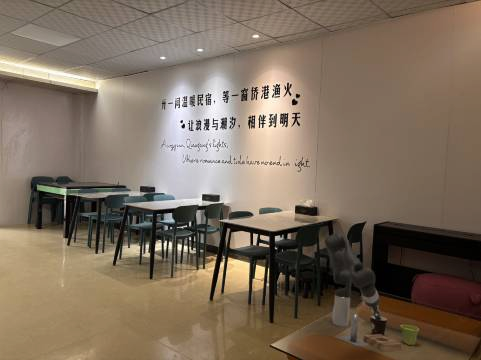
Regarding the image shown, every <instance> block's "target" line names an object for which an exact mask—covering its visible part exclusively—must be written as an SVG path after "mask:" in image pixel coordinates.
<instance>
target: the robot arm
mask: <svg viewBox="0 0 481 360" xmlns="http://www.w3.org/2000/svg"><path fill="white" fill-rule="evenodd" d="M324 245H325V247H326V250H327V253H328V255H329V262H330V265H331V268H332V275H333V281H334V283H335V284H338V285H343V286H345V287H344V288H340V289H336V290H335V291H334V302H333V303H334V304H333V307H332V314H331V316H332V317H331V318H332V319H331V323H332V324H333V325H335V326H336V327H341V328H343V327H345V328H346V327H349V322H350V308H351V291H352V284H353V286H354V287H355V288H358V289H359V290H360V294H361V298H362V299H363V302H364V304H365V305H366V306H367V307H369V308H370V309H371V312H372V314H373V316H375V320H376V321H377V320H381V317H382V316H381V314H380V313H381V311H380V309H379V304H380V302H381V298H380V296H379V293H378V291H377V289H376V287H375V285H376V274H375V272H374V271H373V269H371V268H370V267H364V265H363V263H362V262H361V260H360V259H359V258H358V257H357V255H356V254H355V252H354V250H353V248H352V246H351V245H350V242H349V241H348V239H347V237H346V236H345V234H344V233H342V232H341V231H339V232H335V233H333V234H331V235H329V236H327V237H325V238H324ZM342 250H344V252H342ZM380 316H381V317H380Z"/></svg>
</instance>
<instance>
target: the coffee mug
mask: <svg viewBox="0 0 481 360" xmlns="http://www.w3.org/2000/svg"><path fill="white" fill-rule="evenodd" d="M380 317H381V320H377V321H376V320H375V316H374V315H371V316H370V318H369V320H370V321H369V322H370V323H371V324H370V325H371V335H372V334H373V335H376V334H381V335H384V336H385V333H386V326H387V321H388V319H387V318H386V317H383V316H381V315H380Z"/></svg>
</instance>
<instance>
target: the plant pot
mask: <svg viewBox="0 0 481 360" xmlns="http://www.w3.org/2000/svg"><path fill="white" fill-rule="evenodd" d="M400 328H401V335H402V343H406V344H405V345H407V344H408V345H407V346H415V345H416V343H417V337H418V334H419V331H420V328H418V327H417V326H414V325H411V324H410V325H409V324H400ZM414 344H415V345H414Z"/></svg>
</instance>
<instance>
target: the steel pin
mask: <svg viewBox="0 0 481 360" xmlns="http://www.w3.org/2000/svg"><path fill="white" fill-rule="evenodd" d="M358 324H359V314H357V313H351V325H350V336H351V339H350V341H351V342H357V338H358V329H359V327H358V326H359V325H358Z"/></svg>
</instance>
